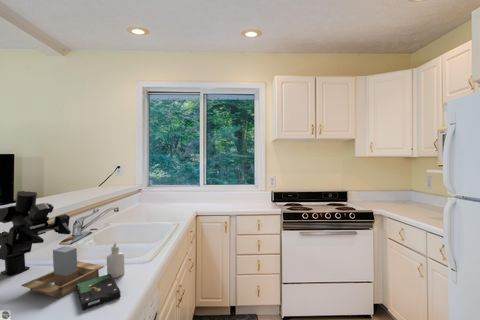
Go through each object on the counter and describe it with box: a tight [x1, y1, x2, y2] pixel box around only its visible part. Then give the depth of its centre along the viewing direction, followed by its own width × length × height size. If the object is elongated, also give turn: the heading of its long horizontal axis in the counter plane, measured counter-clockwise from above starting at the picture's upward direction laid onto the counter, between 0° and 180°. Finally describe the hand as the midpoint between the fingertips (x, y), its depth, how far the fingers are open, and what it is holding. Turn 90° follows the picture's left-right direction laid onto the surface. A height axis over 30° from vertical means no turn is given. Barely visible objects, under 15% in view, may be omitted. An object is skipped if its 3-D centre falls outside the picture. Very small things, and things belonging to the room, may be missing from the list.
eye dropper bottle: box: [106, 242, 126, 279], centre depth 94 cm, size 4×6×12 cm
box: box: [52, 245, 79, 286], centre depth 89 cm, size 6×4×12 cm, turn 69°
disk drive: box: [76, 274, 122, 311], centre depth 82 cm, size 10×3×15 cm
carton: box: [20, 260, 105, 299], centre depth 89 cm, size 14×19×3 cm
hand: (57, 236), depth 89 cm, fingers open, 9 cm apart
